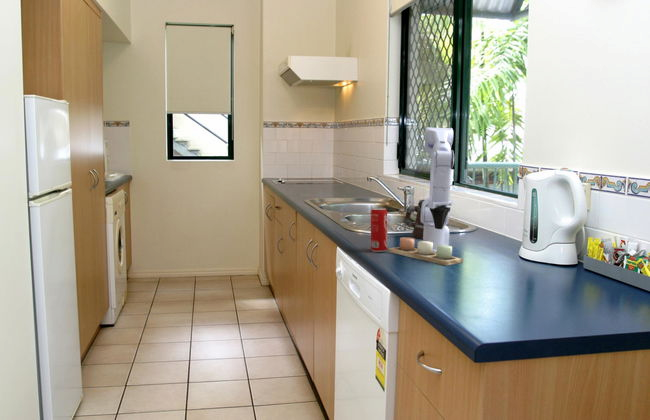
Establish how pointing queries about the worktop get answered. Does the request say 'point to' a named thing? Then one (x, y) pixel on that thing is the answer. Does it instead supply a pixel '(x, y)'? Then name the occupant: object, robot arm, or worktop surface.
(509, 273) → the worktop surface
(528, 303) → the worktop surface
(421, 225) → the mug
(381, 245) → the beverage can
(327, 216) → the worktop surface
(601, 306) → the worktop surface
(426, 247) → the button cream
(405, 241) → the button terracotta
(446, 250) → the button sage
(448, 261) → the wooden board
